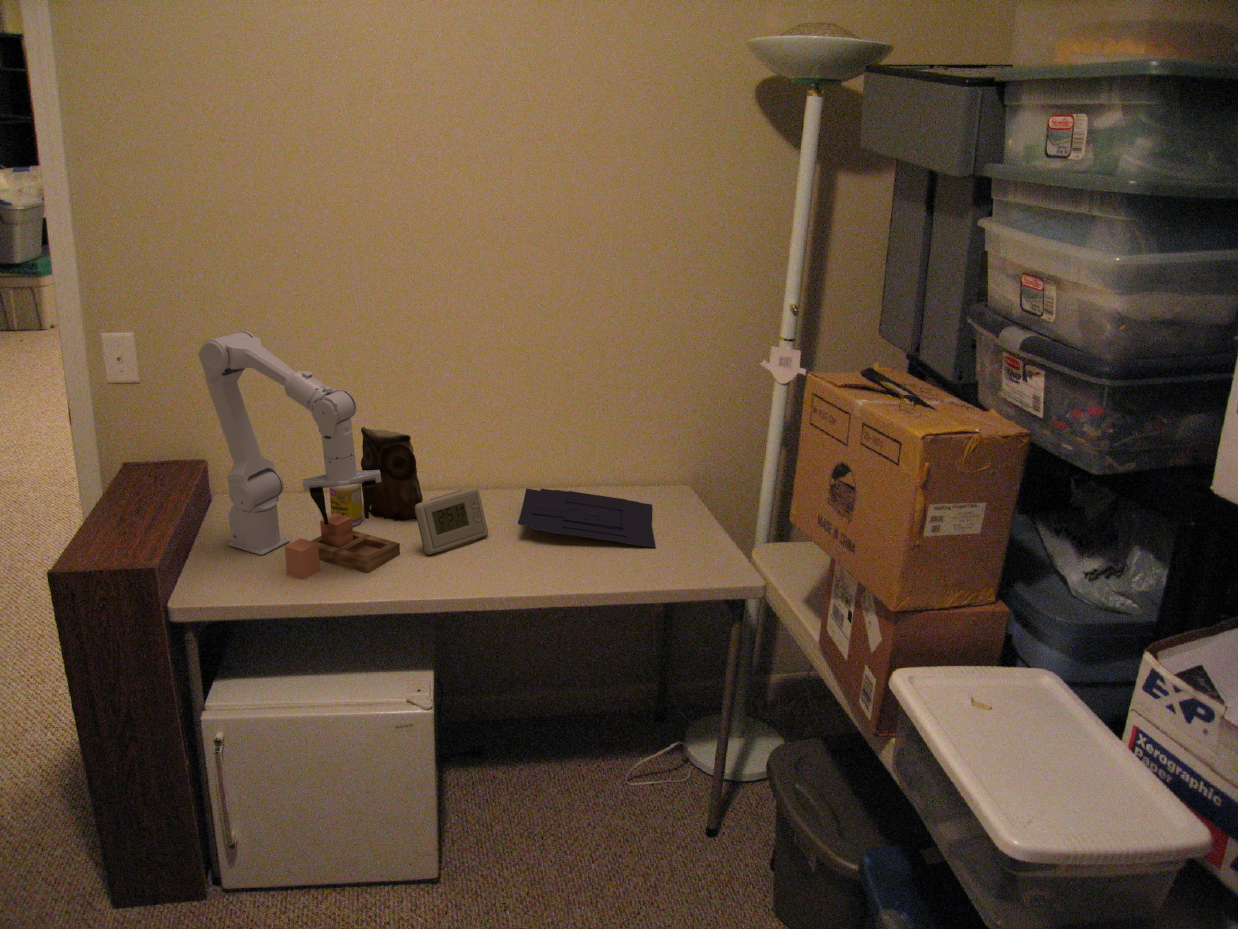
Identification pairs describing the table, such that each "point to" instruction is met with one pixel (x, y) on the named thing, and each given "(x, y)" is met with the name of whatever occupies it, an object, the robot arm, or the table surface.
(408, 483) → the owl
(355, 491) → the supplement bottle
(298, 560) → the post block
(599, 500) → the black flat block
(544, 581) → the table surface
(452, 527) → the digital clock
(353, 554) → the walnut base
